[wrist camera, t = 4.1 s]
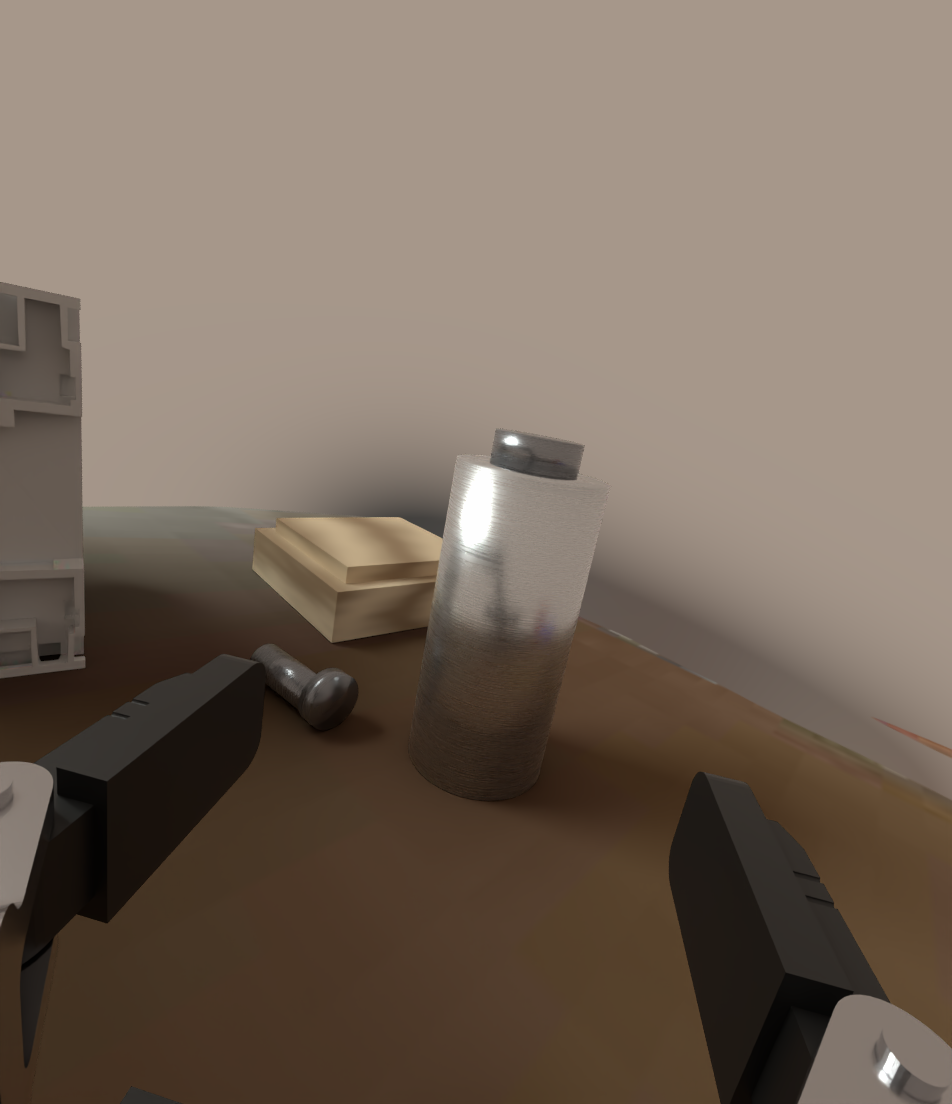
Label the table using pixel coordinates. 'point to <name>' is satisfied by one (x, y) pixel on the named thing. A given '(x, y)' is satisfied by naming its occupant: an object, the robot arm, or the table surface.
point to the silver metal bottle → (504, 614)
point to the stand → (351, 572)
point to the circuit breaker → (40, 483)
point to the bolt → (309, 687)
